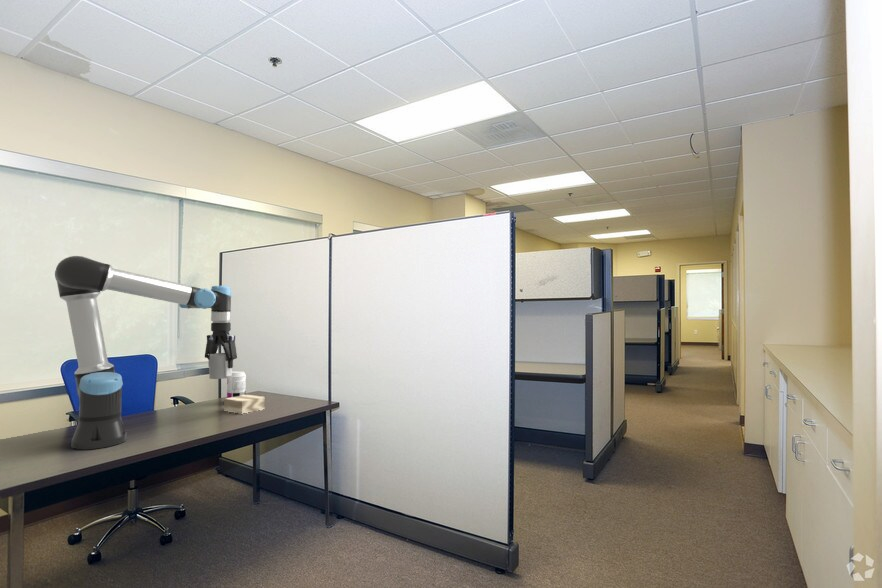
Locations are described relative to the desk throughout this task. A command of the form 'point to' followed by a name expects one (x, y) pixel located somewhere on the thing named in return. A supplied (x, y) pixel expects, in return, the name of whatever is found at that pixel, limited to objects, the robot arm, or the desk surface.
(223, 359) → the cup
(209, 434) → the desk surface
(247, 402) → the birch block
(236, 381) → the supplement can
